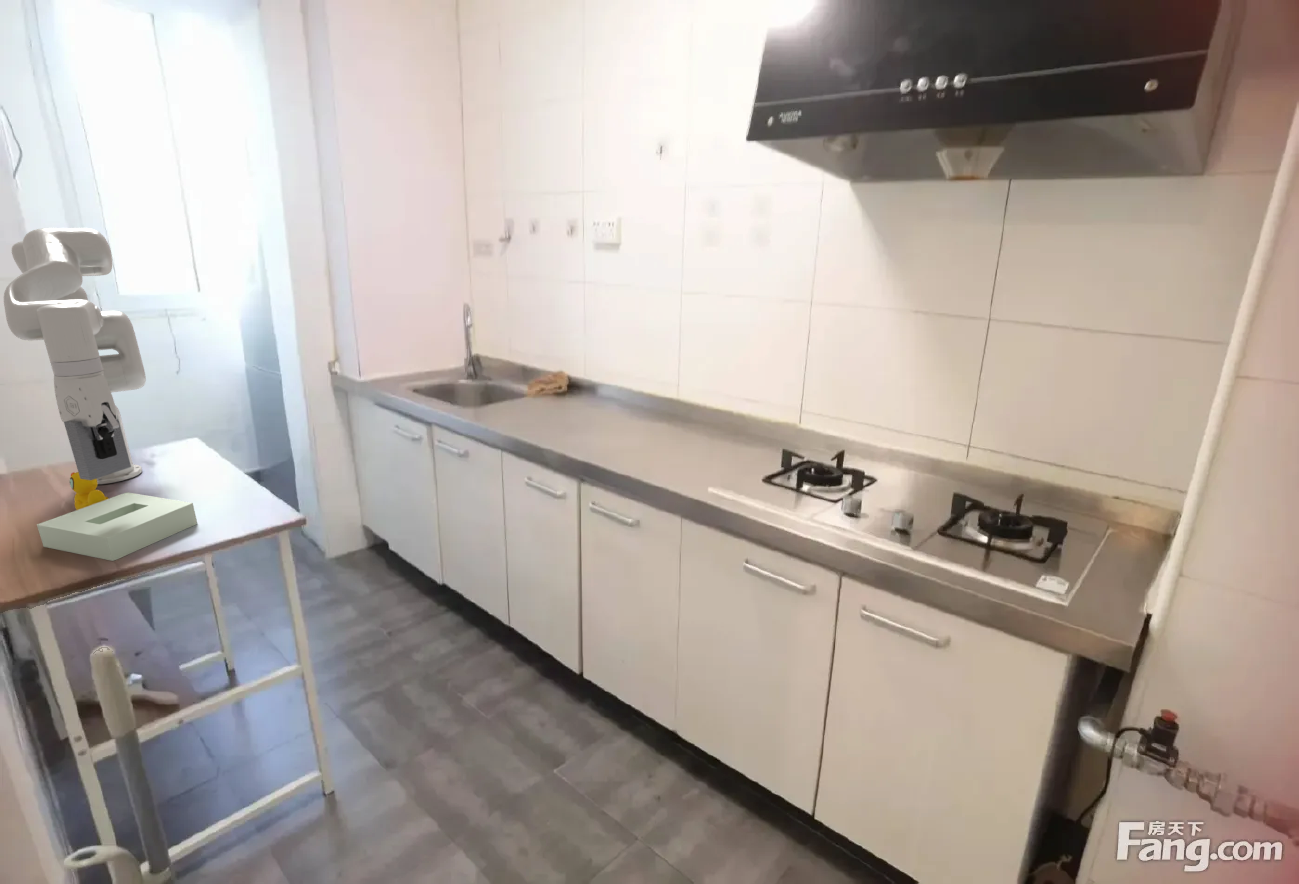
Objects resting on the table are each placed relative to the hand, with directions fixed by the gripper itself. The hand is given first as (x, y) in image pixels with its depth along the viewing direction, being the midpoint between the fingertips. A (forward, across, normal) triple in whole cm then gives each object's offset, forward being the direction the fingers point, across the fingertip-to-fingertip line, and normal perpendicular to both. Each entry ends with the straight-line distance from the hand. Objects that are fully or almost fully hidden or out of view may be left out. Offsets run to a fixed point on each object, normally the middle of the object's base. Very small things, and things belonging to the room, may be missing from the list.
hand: (101, 455), depth 136 cm
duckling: (+18, -18, +6) cm, 26 cm away
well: (+18, 0, 0) cm, 18 cm away
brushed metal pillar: (+4, 0, 0) cm, 4 cm away
